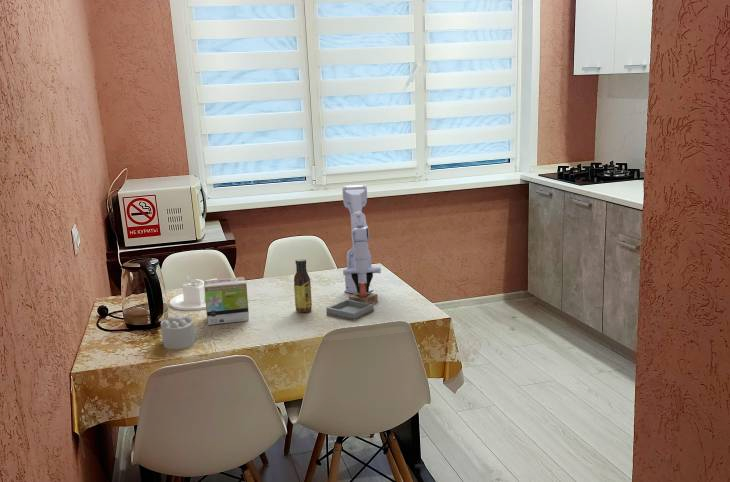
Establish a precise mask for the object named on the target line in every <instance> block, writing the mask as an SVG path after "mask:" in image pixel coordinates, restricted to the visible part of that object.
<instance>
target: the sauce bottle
mask: <svg viewBox="0 0 730 482" xmlns="http://www.w3.org/2000/svg"><path fill="white" fill-rule="evenodd" d="M295 265H296V266H295V268H296V269H295V271H296V272H295V274H294V277H293V282H294V283H293V289H294V304H295V305H294V306H295V311H296V312H297V313H308V312H310V311H312V307H313V306H312V305H313V303H312V285H311V278H310V276H309V273H308V270H307V259H306V258H297V259H295Z"/></svg>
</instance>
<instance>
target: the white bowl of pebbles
mask: <svg viewBox="0 0 730 482" xmlns="http://www.w3.org/2000/svg"><path fill="white" fill-rule="evenodd" d="M194 323H195V322H194V320H193V318H192V317H191V316H190V315H189V316H188V315H184V314H177V315H172V316H167V317H166V318H165V319H162V320H161V322H160V330H161V339H162V344H163V346H164V347H165V349H166V348H167V349H169V350H185V349H187V348H190V347H193V346H194V345H195V343H196V342H197V340H196V333H195V324H194Z"/></svg>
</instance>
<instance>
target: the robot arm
mask: <svg viewBox="0 0 730 482" xmlns="http://www.w3.org/2000/svg"><path fill="white" fill-rule="evenodd" d="M341 190H342V201H343V205H344V207H345V208H346V209H348V212H349V215H350V226H351V227H350V228H351V231H350V232H351V241H352V247H351V248H350V249H349V250H348V251H347V253H346V264H347V265H346V266H347V268H345V269H344V268H343V269H342V274H343V276H344V283H345V290H344V292H345V293H348V294H349V293H350V294H356V293H359V282H366V286H367V292H369V293H372V291H374V288H371V287H370V285H371V282H372V280H373V277H374V275H373V274H381V273H382V268H381V267H380V266H379V267H375V266H372V255H371V251H370V250H369V242H370V231H369V230H370V229H369V227H368V224H367V219H366V218H367V217H366V214H364V212H362V211H363V208H364V207H366V204H367V201H368V189H367V185H366V184H357V185H343V186H342V189H341Z"/></svg>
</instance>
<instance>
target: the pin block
mask: <svg viewBox="0 0 730 482" xmlns="http://www.w3.org/2000/svg"><path fill="white" fill-rule="evenodd" d="M348 300H353V301H358V302H363V303H368V304H373V305H374V304H375V303H378V301H379V300H378V294H377V293H374V292H367V297H359V293H356V294H354V293H352V295H349V296H348Z"/></svg>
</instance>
